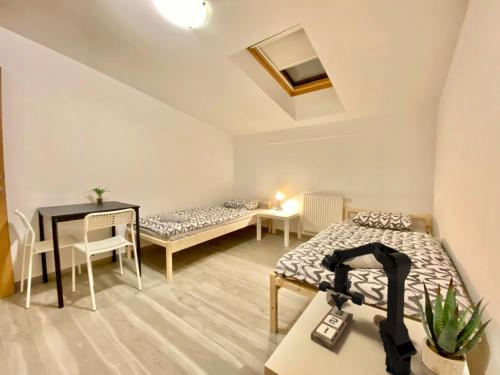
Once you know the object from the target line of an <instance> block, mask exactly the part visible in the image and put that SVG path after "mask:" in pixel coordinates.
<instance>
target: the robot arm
mask: <svg viewBox="0 0 500 375" xmlns="http://www.w3.org/2000/svg"><path fill="white" fill-rule="evenodd" d="M368 255H373V257H374V259H375V261H376V262H378V263H379V264H380V265H382V269H383V270H382V271H383V272H384V274H385V276H386V278H387V287H386V289H387V296H386V319H384V320H381V321H380V322H379V326H380V329H378V332H379V333H380V334H379V333H378V334H379V336H380V340H381V342H382V346H383V351H384V353H385V358H384V359H385V363H384V365H385V366H386V367H385V371H386V372H387V373H388V374H390V375H411V374H412V357H413V356H414V357H415V356H416V354H417V353H418V350H417V348H416V346H415V345H414V343H413V342H412V340H411V338H410V333H409V329H408V328H407V325H406V323H405V320H404V319H405V291H406V288H405V283H406V280H407V279H408V276H409V274H410V273H411V269H412V266H413V265H412V264H413V260H412V259H411V258H410V256H409V255H408V254H406V253H405V252H403V251H399V250H398V249H396V248H394V247H390V246H388V245H386V244H384V243H382V242H381V241H372V242H368V243H367V244H363V245H359V246H355V247H352V248H341V249H334V250H333V251H332V254H331V255H330V254H328V253H327V254H325V255H324V257H323V258H322V260H321V264H320V265H321V266H322V267H323V268H325V270H327V271H329V272H331V273H334V278H333V286H332V283H331V282H329V281H327V280H322V281H321V282H320V283H318V287H317V288H318V291H320V292H323V293H325V292H327V290H331V294H330V296H331V297H332V298H333V299H334V301H335V303H336V304H335V305H336V307H337V308H338V310H339V311H341V309H342V310H343V307H344V302H346V303H347V302H348V301H349V300H350V301H351V303H352V304H354V305H356V306H362V305H363V304H364V302H365V300H366V299H365V298H366V296H365V295H364V293H360V292H358V291H354V292H353V293H352V292H350V289H351V288H352V284H353V283H352V282H353V281H352V280H350V278H349V272H352V271H353V270H354V269H353V267H352V266H351V265H350V264H346V263H349V262H352V261H353V260H355V259H357V258H359V257H364V256H368ZM340 295H342V297H341V298H340Z"/></svg>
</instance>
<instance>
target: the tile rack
mask: <svg viewBox="0 0 500 375" xmlns="http://www.w3.org/2000/svg"><path fill="white" fill-rule="evenodd" d="M335 307H336V306H334V305H333V306H332V307H331V308H330V310H329V311H328V312H327V313H326V314H325V316H324V317H322V319H321V320H320V322H319V323H318V324H317V325H316V326H315V327H314V329H313V330H312V331H311V333H310V340H312V341H313V342H315V343H317V344H318V345H320V346H322V347H324V348H326V349H328V350H329V351H331V352H335V349H336V348H337V346H338V345H339V342H340V341H341V339H342V338H343V336H344V334H345V333H346V331H347V329H348V328H349V326H350V325H351V323H352V322H353V320H354V313H350V312H349V315H348V317H347V318H346V320H345V321H343V325H342V326H341V328H340V329H339V331H337V333H336V335H335V337H334V338H333V340H332V341H331V342H330V341H328V340H326V339H324V338H323V337H321V336H319V335H317V334H316V330H317V329H318V328H319V327H320V325H321V324H322V323H323V324H324V320H325V319H326V318H327V317H328V315H330V314H331V312H332V310H333V309H334V308H335Z"/></svg>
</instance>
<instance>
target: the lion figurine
mask: <svg viewBox="0 0 500 375" xmlns="http://www.w3.org/2000/svg"><path fill="white" fill-rule="evenodd" d="M373 316H374V317H373V324H374V326H375V327H377V329H378V330H379V329H380V326H379V322H380V321H381V320H384V319H386V318H387V316H386V317H385V316H383V315H381V314H375V315H373ZM378 334H379V335H380V333H379V331H378Z"/></svg>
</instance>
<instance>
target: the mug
mask: <svg viewBox="0 0 500 375" xmlns="http://www.w3.org/2000/svg"><path fill="white" fill-rule="evenodd" d="M330 294H331V290H328V289H327V290H326V295H325V299H326V303H328V304H331V305H333V304H335V305H336V303H335V301H334V299H333V298H332V297H331V296H330ZM341 297H342V295H340V298H341ZM346 303H347V302H344V304H346ZM344 304H343V305H344Z"/></svg>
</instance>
